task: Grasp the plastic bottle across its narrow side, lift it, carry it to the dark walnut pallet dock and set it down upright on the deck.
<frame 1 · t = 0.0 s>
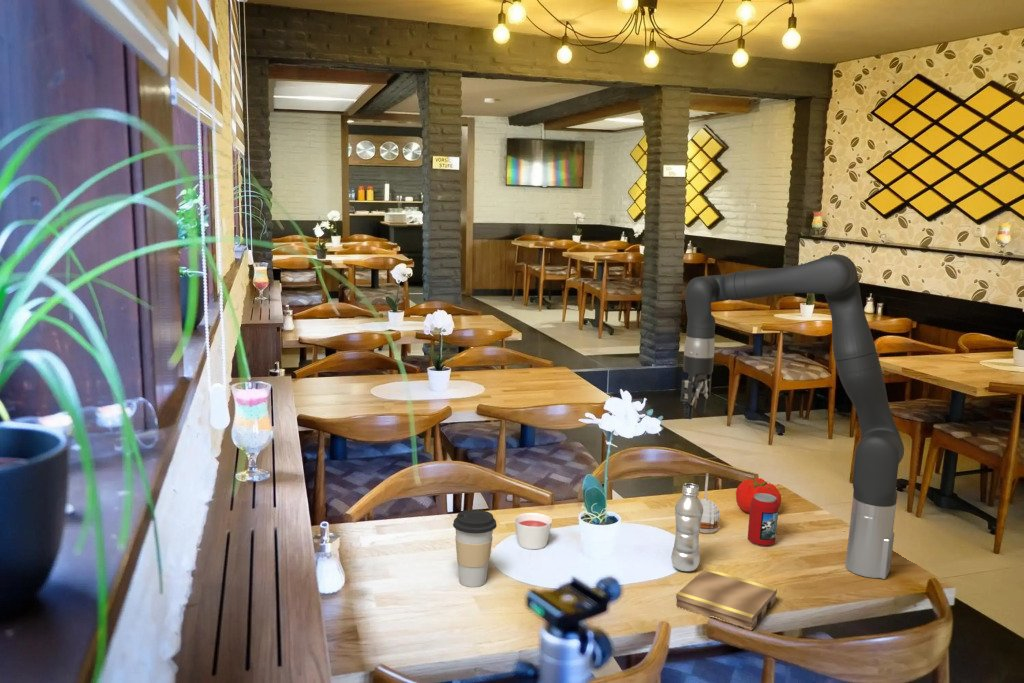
hand: (694, 415, 214), 29 cm above the table, fingers open, 8 cm apart
coffee cup: (473, 582, 180), on the table
beverage can: (761, 543, 207), on the table
tomato: (757, 512, 229), on the table
candle: (532, 545, 201), on the table
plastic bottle: (684, 569, 190), on the table
dock: (726, 604, 174), on the table
decorative ornament: (702, 529, 215), on the table
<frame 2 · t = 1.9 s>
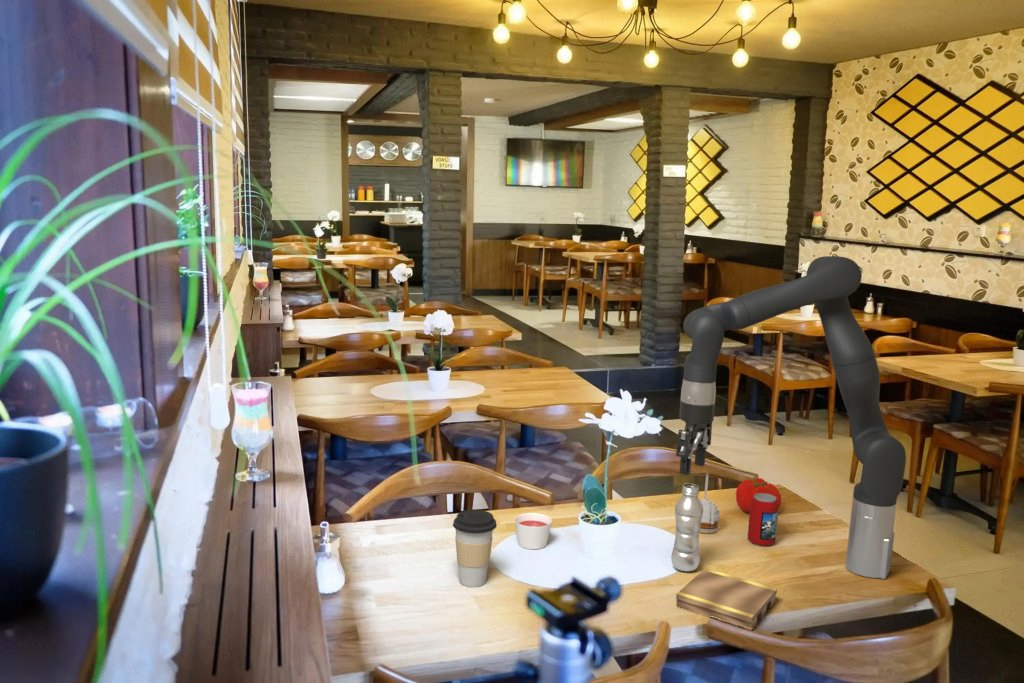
hand: (692, 469, 187), 24 cm above the table, fingers open, 8 cm apart
nothing on the table moved.
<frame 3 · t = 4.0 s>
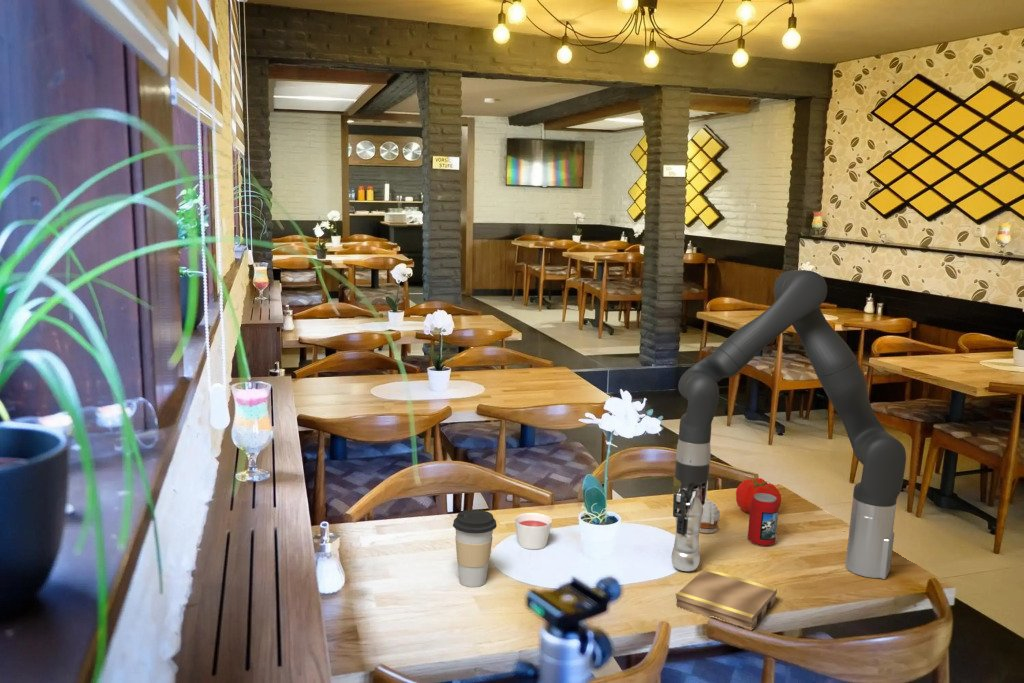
hand: (687, 529, 189), 10 cm above the table, fingers closed on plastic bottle, 6 cm apart
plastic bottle: (684, 569, 190), on the table, touching gripper
everything else where it was.
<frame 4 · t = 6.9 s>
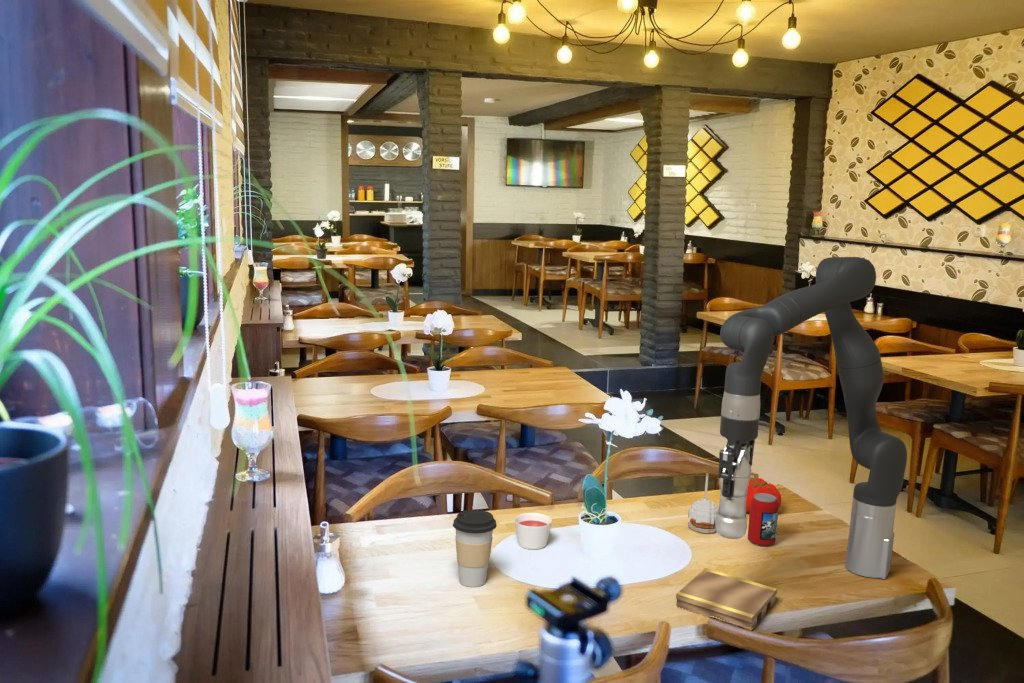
hand: (733, 492, 170), 25 cm above the table, fingers closed on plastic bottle, 6 cm apart
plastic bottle: (729, 537, 172), point 15 cm above the table, touching gripper
everything else where it was.
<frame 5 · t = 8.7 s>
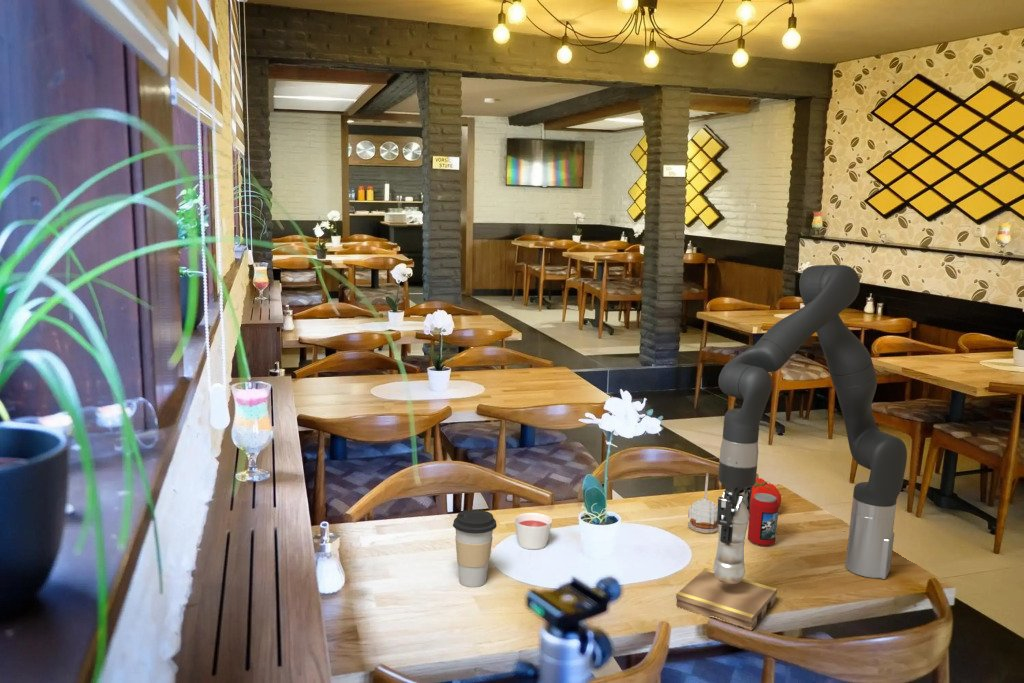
hand: (731, 537, 171), 15 cm above the table, fingers closed on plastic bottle, 6 cm apart
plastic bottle: (727, 581, 173), point 5 cm above the table, touching gripper
everything else where it was.
when the fingers open (14 cm above the table, at t = 9.9 s): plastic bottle drops 1 cm, resting on dock.
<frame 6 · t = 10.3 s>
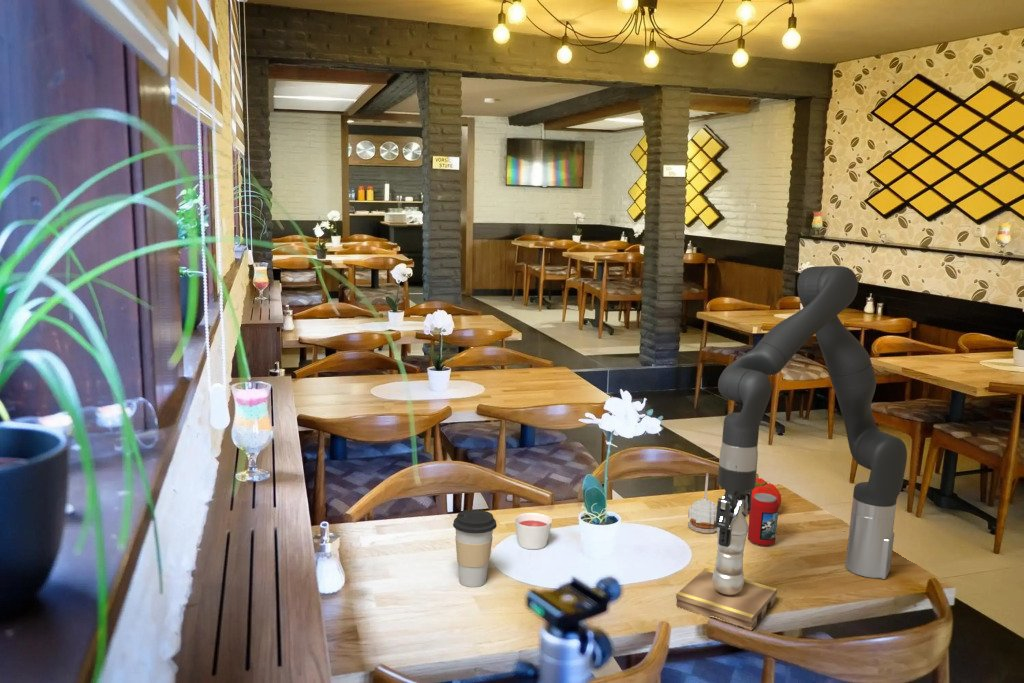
hand: (731, 539, 171), 15 cm above the table, fingers open, 8 cm apart
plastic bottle: (726, 592, 173), point 3 cm above the table, touching dock
everything else where it was.
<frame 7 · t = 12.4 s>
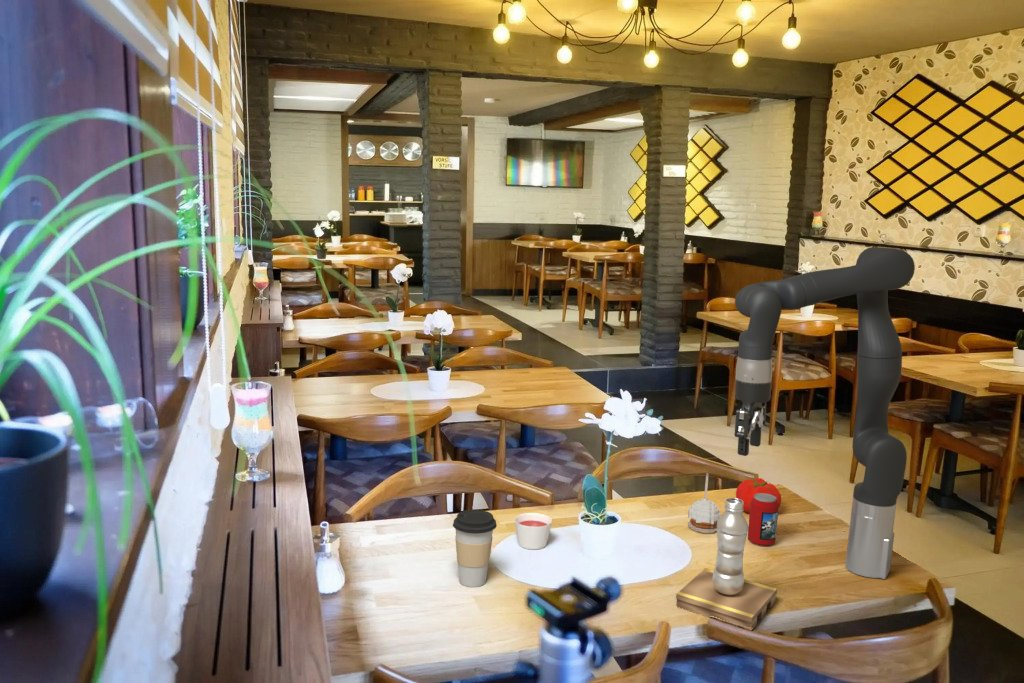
hand: (749, 450, 181), 30 cm above the table, fingers open, 8 cm apart
nothing on the table moved.
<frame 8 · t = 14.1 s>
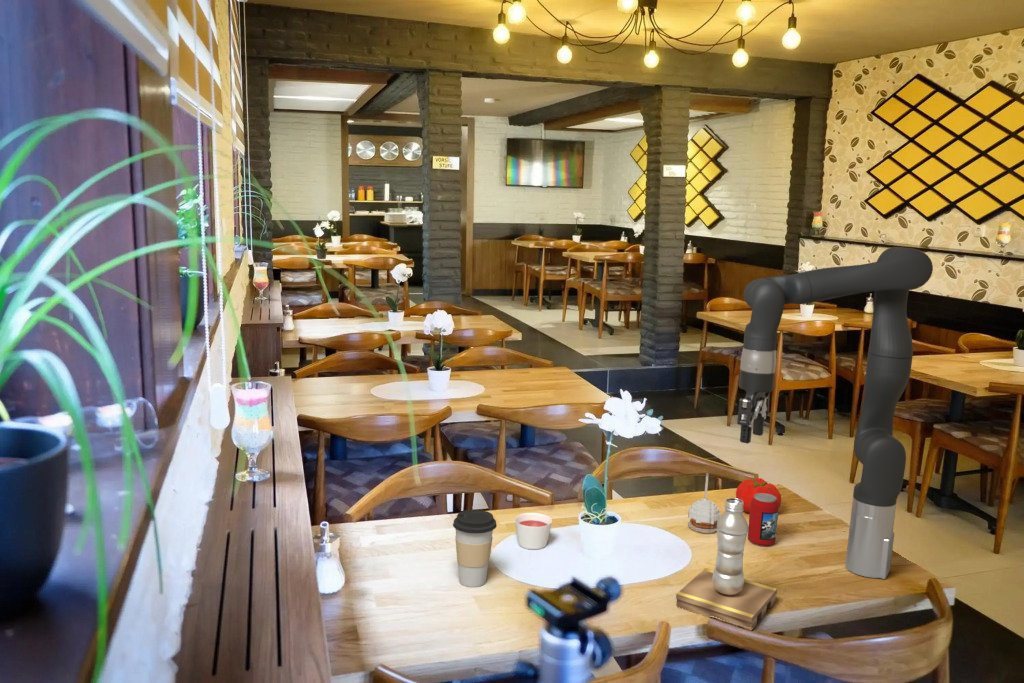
hand: (751, 438, 187), 31 cm above the table, fingers open, 8 cm apart
nothing on the table moved.
at the end: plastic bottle inside the target area on the dock (0.2 cm from its centre), point 2.8 cm above the dock's base; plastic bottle tilted 0°; the gripper is holding nothing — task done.
